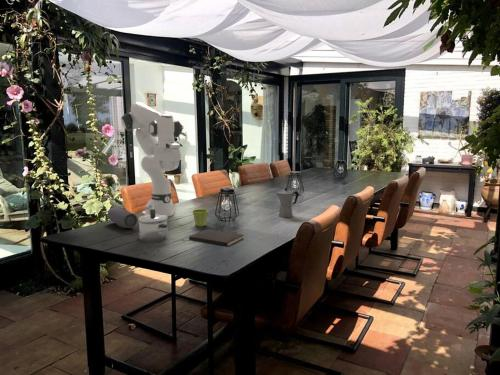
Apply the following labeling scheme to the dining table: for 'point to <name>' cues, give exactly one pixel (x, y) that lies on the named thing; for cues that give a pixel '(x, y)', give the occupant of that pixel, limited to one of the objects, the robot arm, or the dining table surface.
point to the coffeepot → (286, 202)
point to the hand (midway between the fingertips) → (166, 169)
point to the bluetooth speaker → (122, 217)
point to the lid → (152, 217)
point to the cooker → (153, 231)
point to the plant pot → (200, 217)
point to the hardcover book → (216, 237)
